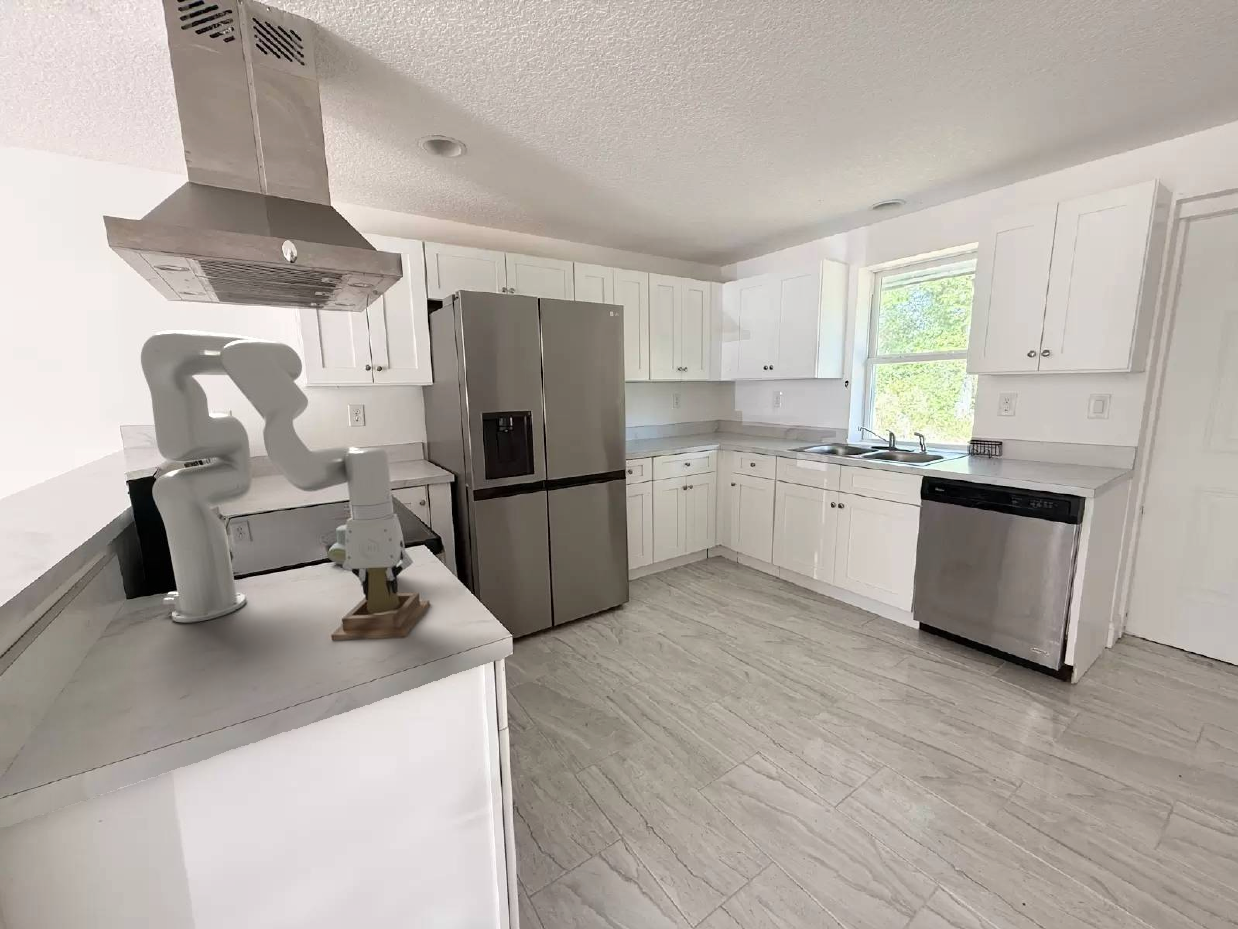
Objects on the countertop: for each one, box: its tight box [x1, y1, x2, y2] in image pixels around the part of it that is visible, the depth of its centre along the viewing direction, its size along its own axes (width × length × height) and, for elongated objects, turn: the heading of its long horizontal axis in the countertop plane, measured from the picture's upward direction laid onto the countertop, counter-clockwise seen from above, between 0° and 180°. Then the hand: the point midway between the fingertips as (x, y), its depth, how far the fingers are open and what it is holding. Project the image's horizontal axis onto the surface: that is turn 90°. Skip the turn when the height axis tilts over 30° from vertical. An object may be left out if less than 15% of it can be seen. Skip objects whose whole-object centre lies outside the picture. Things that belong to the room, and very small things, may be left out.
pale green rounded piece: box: [327, 523, 347, 566], centre depth 136 cm, size 11×8×10 cm
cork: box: [366, 568, 400, 613], centre depth 100 cm, size 6×6×11 cm
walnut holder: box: [330, 592, 431, 641], centre depth 102 cm, size 14×14×4 cm
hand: (381, 596), depth 101 cm, fingers closed on cork, 3 cm apart
